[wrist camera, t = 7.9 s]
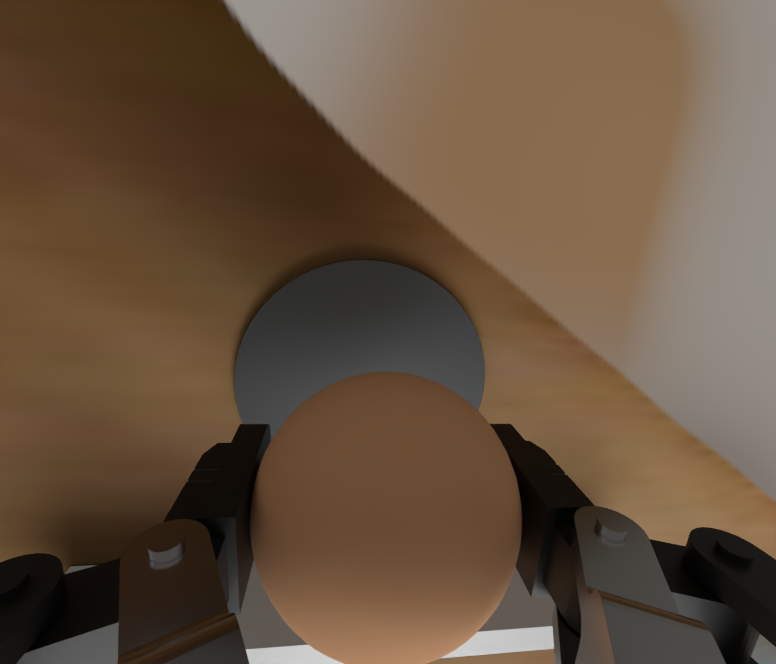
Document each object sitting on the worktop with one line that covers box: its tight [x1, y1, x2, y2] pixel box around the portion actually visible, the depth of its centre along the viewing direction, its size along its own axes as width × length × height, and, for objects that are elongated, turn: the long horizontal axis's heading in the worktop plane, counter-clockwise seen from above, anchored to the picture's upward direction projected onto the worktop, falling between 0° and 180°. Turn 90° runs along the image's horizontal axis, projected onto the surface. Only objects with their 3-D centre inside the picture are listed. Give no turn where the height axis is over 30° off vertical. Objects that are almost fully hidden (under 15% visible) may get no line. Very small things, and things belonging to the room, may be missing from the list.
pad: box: [234, 260, 485, 440], centre depth 16 cm, size 10×10×1 cm
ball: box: [250, 372, 522, 664], centre depth 9 cm, size 6×6×6 cm
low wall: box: [65, 561, 555, 664], centre depth 17 cm, size 24×1×4 cm, turn 86°
